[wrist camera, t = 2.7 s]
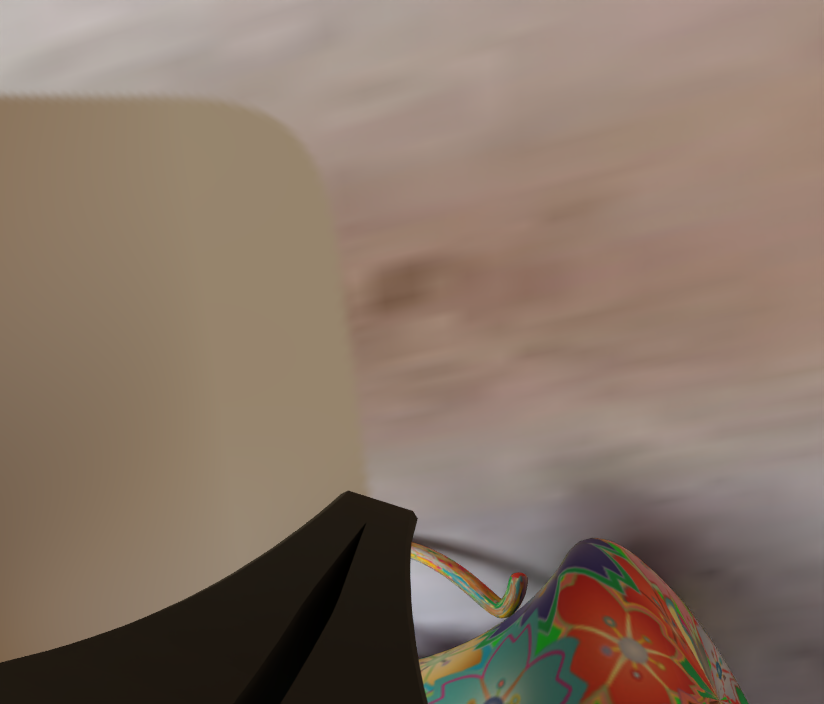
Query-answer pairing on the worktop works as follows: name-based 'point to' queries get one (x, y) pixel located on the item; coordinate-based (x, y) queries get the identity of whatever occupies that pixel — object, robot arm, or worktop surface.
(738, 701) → the mug
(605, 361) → the worktop surface
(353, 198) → the worktop surface
